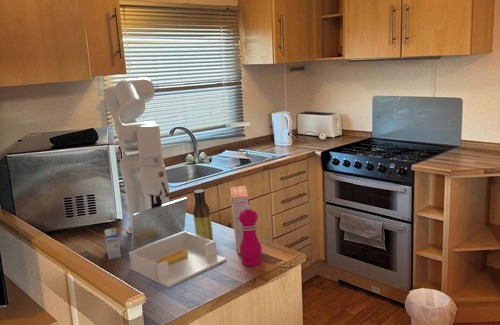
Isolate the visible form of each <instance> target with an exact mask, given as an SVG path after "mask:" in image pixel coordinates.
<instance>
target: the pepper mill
mask: <svg viewBox="0 0 500 325" xmlns="http://www.w3.org/2000/svg"><path fill="white" fill-rule="evenodd" d="M239 220H240V222H241V223H242V224H241V226H242V227H241V229H242V230H243V239H242V242H241V245H240V254H239V255H241V256H242V258H241V262H242V265H244V266H246V267H255V266H259V265H260V264H261V263H262V256H261V254H262V251H263V250H262V249H263V248H262V245H261V243H260V241H259V239H258V237H257V233H256V230H257V223H256V222H257V221H258V214H257V212H256V211H255V210H254V209H251V206H250V204H249V205H246V206H245V210H243V211H242V212H241V213H240V215H239Z"/></svg>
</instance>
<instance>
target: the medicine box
mask: <svg viewBox="0 0 500 325" xmlns="http://www.w3.org/2000/svg"><path fill="white" fill-rule="evenodd" d="M103 233H104V239H105V247H106V253H107V258H108V259H109V260H112V259H117V258H121V256H122V253H121V252H122V251H121V245H120V239H119V233H118V230H117V228H114V227H113V228H108V229H105V230H103Z"/></svg>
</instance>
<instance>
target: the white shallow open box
mask: <svg viewBox="0 0 500 325" xmlns="http://www.w3.org/2000/svg"><path fill="white" fill-rule="evenodd" d="M180 250H184V251H187V252H188V256H187V257H185V258H183V259H180V260H178V261H176V262H173V263H171V264H169V265H168V261H164V262H161V263H159V264H158V262H157V261H158V259H160V258H163V257H165V256H168V255H170V254H172V253H175V252H177V251H180ZM128 256H129V258H128V259H129V264H130V266H129V269H130V270H132V271H134V272H136V273H138V274H140V275H142V276H143V277H146V278H148V279H150V280H152V281H154V282H156V283H158V284H160V285H162V286H165V287H166V288H171V287H173V286H175V285H177V284H179V283H182V282H184V281H186V280H188V279H191V278H192V277H195V276H196V275H199V274H201V273H203V272H206V271H207V270H209V269H212V268H213V267H216V266H218V265H220V264H223V263H224V262H227V258H226V257H224V256H221V255H219V254H217V242H216V240H210V239H207V238H205V237H202V236H199V235H196V233H192V232H190V231H188V230H184V231H182V232H179V233H176V234H174V235H171V236H169V237H166V238H163V239H161V240H158V241H155V242H153V243H150V244H147V245H145V246H142V247H140V248H137V249H134V250H132V251H129V252H128Z"/></svg>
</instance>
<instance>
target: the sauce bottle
mask: <svg viewBox="0 0 500 325" xmlns="http://www.w3.org/2000/svg"><path fill="white" fill-rule="evenodd" d="M205 193H206V192H205V190H204V189H195V190H194V191H193V196H194V206H193V207H194V208H193V213H192V214H193V222H194V231H195V234H196V235H199V236H202V237H205V238H207V239H210V240H213V239H214V234H213V227H212V225H213V224H212V216H211V213H210V207H209V204H207V202H206V197H205ZM213 241H214V240H213Z"/></svg>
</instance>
